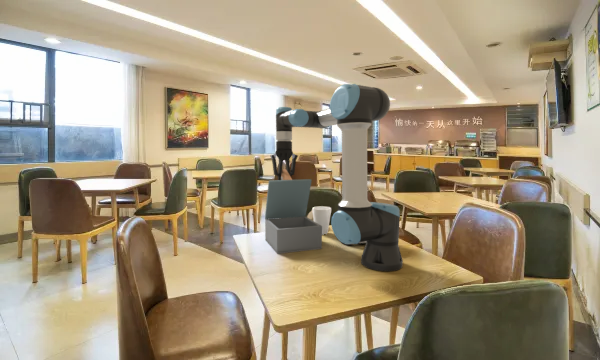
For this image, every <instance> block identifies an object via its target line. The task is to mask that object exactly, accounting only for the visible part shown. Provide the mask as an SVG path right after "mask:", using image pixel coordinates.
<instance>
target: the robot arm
mask: <svg viewBox="0 0 600 360" xmlns="http://www.w3.org/2000/svg"><path fill="white" fill-rule="evenodd" d="M390 108H391V101H390V97H389V95H388V94H387V92H386V91H384V90H383V89H381V88H379V87H371V86H367V85H361V84H356V83H353V84H352V83H344V84H342V85H340V86H338V87H337V88H336V89H335V90H334V93H333V94H332V96H331V98H330V103H329V108H325V109H322V110H317V111H316V110H306V109H302V108H295V109H292V107H289V106H279V107H277V108H276V110H275V130H276V132H275V140H276V142H275V147H276V148H275V149H276V150H275V152H274V153H273V154H270V159H271V161H272V168H273V170H272V171H273V175H274V176H276V177H277V180H283V177H281V175H282V169H283V163H284V162H285V169H286V170H287V172H288V173H289V175H290V177H291V178H292V176H294V175H295V170H296V164H297V159H298V156H299V155H298V154H295V153H294V152H293V141H292V140H293V128H307V129H308V128H313V129H327V128H330V127H331V126H336V125H337V127H338V128H339V129H340V130H341V174H342V175H341V177H342V178H341V182H342V184H341V186H342V188H341V189H342V190H341V191H342V194H341V196H342V197H341V201H339V202H338V204H337V211H335V212H334V213H333V215H332V216H331V218H330V221H331V223H330V224H331V228H332V231H333V234H334V236H335V237H336V238H337V240H338V241H340V242H341V243H342V244H345V245H358V244H357V243H360V242H365V241H366V244H364V245H365V246H364V248H363V251H362V253H361V257H360V263H361V264H362V265H363V267H365V268H367V269H370V270H373V271H378V272H379V271H380V272H394V271H395V272H396V271H398V270H401V269H402V268H403V263H404V262H403V257H402V253H401V250H400V246H399V240H400V238H399V237H400V219H401V216H400V208H399V207H398V206H397V205H395V204H390V203H384V202H376V201H370V200H369V199H368V129H370V127H371V126H372V122H376V121H380V120H382V119H384V118H385V117H386V115H388V112H389V111H390ZM277 158H278V165H277ZM291 158H292V160H291V161H290V159H291ZM290 163H291V164H290ZM290 165H291V166H290ZM400 268H401V269H400Z"/></svg>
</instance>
